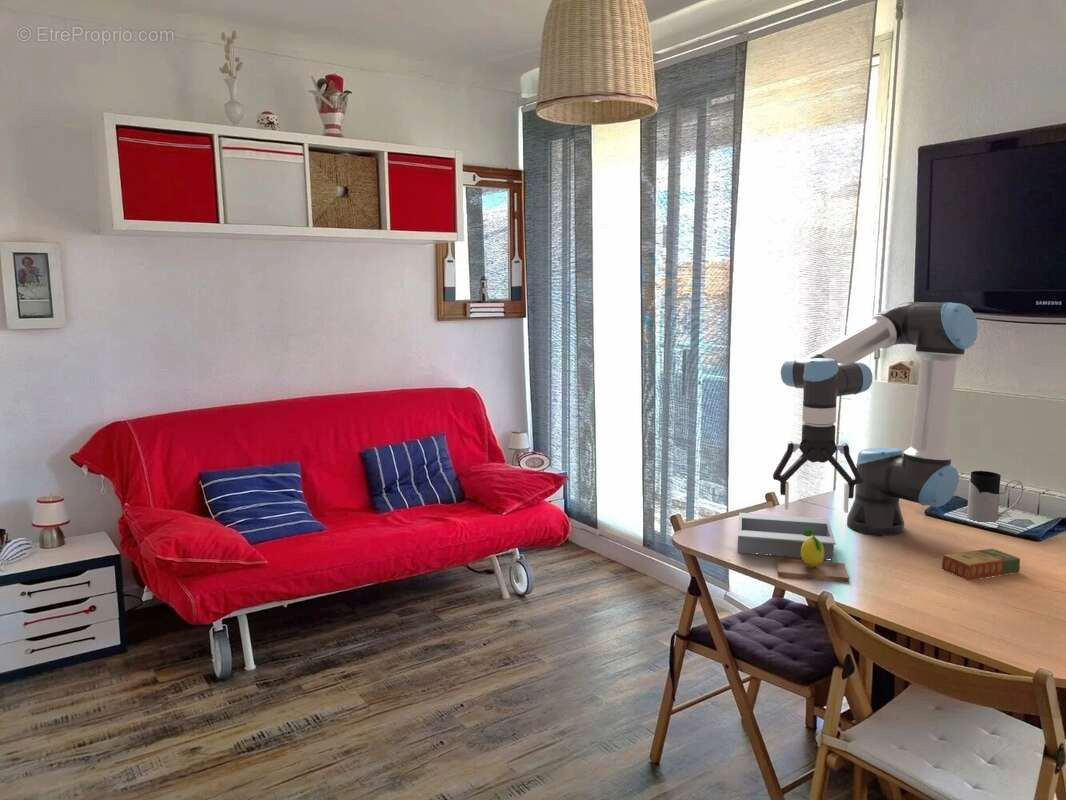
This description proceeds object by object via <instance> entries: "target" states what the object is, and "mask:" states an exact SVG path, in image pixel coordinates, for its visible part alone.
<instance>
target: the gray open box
mask: <svg viewBox="0 0 1066 800" xmlns="http://www.w3.org/2000/svg"><path fill="white" fill-rule="evenodd" d="M737 528H738V530H737V553H738V554H747V553H755V554H754V555H759V554H768V555H767V556H771V555H779V556H778V557H783V556H789V557H788V558H796V557H801V547H802V544H803V543H804V541H805V540H807V539H809V538H812V537H813V536H804V535H803V533H804V531H805V530H806V529H810V530H811V531H812V532H813V529H814V537H815V538H817V539H818V540H819V541H820V542H821V543H822V545H823V547H824V559H831V560H830V561H832V560H833V561H834V546H835V545H836V544H837V543H836V539H835V536H834V533H833V530H832V527H831V522H830V520H829V518H823V517H821V518H820V517H806V516H793V515H782V514H781V515H780V514H767V513H765V514H764V513H749V512H739V514H738V527H737ZM740 552H741V553H740ZM756 553H758V554H756ZM770 554H771V555H770Z"/></svg>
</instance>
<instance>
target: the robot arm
mask: <svg viewBox="0 0 1066 800" xmlns="http://www.w3.org/2000/svg"><path fill="white" fill-rule="evenodd" d="M978 330H979V329H978V321H977V317H976V315H975V313H974V311H973V310H972V308H971V307H969V306H968V305H966V304H963V303H958V302H950V301H949V302H940V301H939V302H936V301H935V302H932V301H931V302H929V301H928V302H927V301H924V302H923V301H922V302H921V301H910V302H904V303H901V304H897V305H894V306H892V307H891V306H890V307H889V308H886V309H885V310H881V311H880V312H877V313H876V314H874V315H872V316H871V317H869V318H868V319H867V321H866V322H865V324H864V325H862V326H859V328H856V329H855V330H852V331H851V332H849V333H847V334H846V335H844V336H842V337H840V338H838V339H836V340H835V341H832V342H830V343H829V344H827V345H826V346H823V347H822V348H820V349H818V350H817V351H815V352H812V353H811V354H809V355H807V356H805V357H802V358H799V357H790V358H788V359H785V361H784V362H782V363H783V364H782V365H781V368H780V378H781V381H782V382H783V384H785V386H788V387H792V388H795V389H803V395H802V396H803V401H802V415H801V416H802V422H803V424H802V425H801V426H802V427H801V440H800V441H801V442H800V443H797V442H793V441H788V443H787V448H786V451H785V452H784V454H783V456H782V458H781V459H780V461H779V463H778V465H777V467H776V468H775V470H774V472H773V474H772V478H773V480H775V481H778V482H780V483H779V484H780V485H779V487H780V489H779V493H780V495H781V496H784V510H789V499H790V498H789V497H790V496H789V495H790V494H789V493H790V491H789V490H790V483H789V479H790V478H791V477H792V476H793V475H794V474H795V473H796V472H797V471H799V469H800V468H801V467H802V466H803V465H804V464H806V463H807V462H811V463H816V462H818V463H827V462H829V463H830V464H831V465H832V466H833V467H834V469H835V470H836V471H837V472H838V474H840V476H841V477H842V478H843V479H844V480H845V482H846V483H844V488H843V490H844V491H843V512H844V513H845V514H846V513H847V514H848V515H847V518H846V525H847V527H848V528H849V527H850V528H849V529H852V530H853V531H857V532H859V533H862V534H868V535H876V536H895V535H900V534H903V533H904V532H905V521H904V517H903V514H902V510H901V507H900V500H905V501H909V502H912V503H916V504H920V505H921V506H929V507H934V508H938V507H939V508H940V507H942V506H944V505H946V504H947V503H949V502H950V500H951V499H952V498H953V497H954V495H955V493H956V491H957V489H958V486H959V480H960V475H959V471H958V469H957V468H956V467H955V466H953V465H951V463H952V456H951V455H950V454H949V452H947V444H948V435H949V430H950V429H949V428H950V422H951V421H950V420H951V412H952V405H953V396H954V387H955V379H956V371H957V363H958V361H959V360H960V359H962V358H963V357H964V356H965V351H966V350H967V349H970V348H972V347H973V345H974V344H975V341H976V339H977V337H978ZM895 345H896V346H897V345H913V346H915V354H916V355H918V357H919V358H920V362H919V363H920V365H919V372H918V381H917V390H916V396H915V397H916V398H915V406H914V413H913V422H912V431H911V441H910V446H909V447H908V448H907V449H905V450H904V451H903V450H902V449H900V448H899V447H898V448H897V447H896V448H895V447H873V448H872V447H871V448H866V449H863V450H860V451H859V452H858V453H857V458H856V459H857V461H856V464H855V462H854V461H853V458H852V456H851V453H850V446H849V444H848V443H846V442H844V443H843V444H836V430H837V429H836V425H835V423H837V397H844V396H851V395H857V394H861V393H864V392H866V391H868V390H870V388H871V386H872V383H873V380H874V377H873V372H872V370H871V368H870V367H869V366H868V365H867V364H865V363H864V362H863V363H862V362H858V361H861V360H862V359H863V358H866V357H867V356H870V355H871V354H873V353H874V352H876V351H878V350H879V349H882V350H883V349H889V348H890V347H892V346H895ZM797 450H800V451H801V453H802V454H801V455H800V456H799V457H798V459H797V460H795V461H794V462H793V464H791V466H789V468H788V469H786V471H785V472H783V471H784V469H785V467H786V465H787V464H788V462H789V461H790V459H791V457H792V455H793V453H795V452H796V451H797ZM837 451H839V453H840V454H841V455H843V457H844V458H845V460H846V462H847V465H848V466H849V468H850V471H851V472H852V474H853V478H852V477H851V476H850V474H849V473H848V472H847V471H846V470H845V469H844V467H843V466H842V465H841V463H839V461H837V459H836V458H835V457H834V455H835V453H836V452H837ZM782 473H783V474H782ZM849 499H853V503H852V505H851V507H850V509H849ZM849 510H850V511H849Z"/></svg>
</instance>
